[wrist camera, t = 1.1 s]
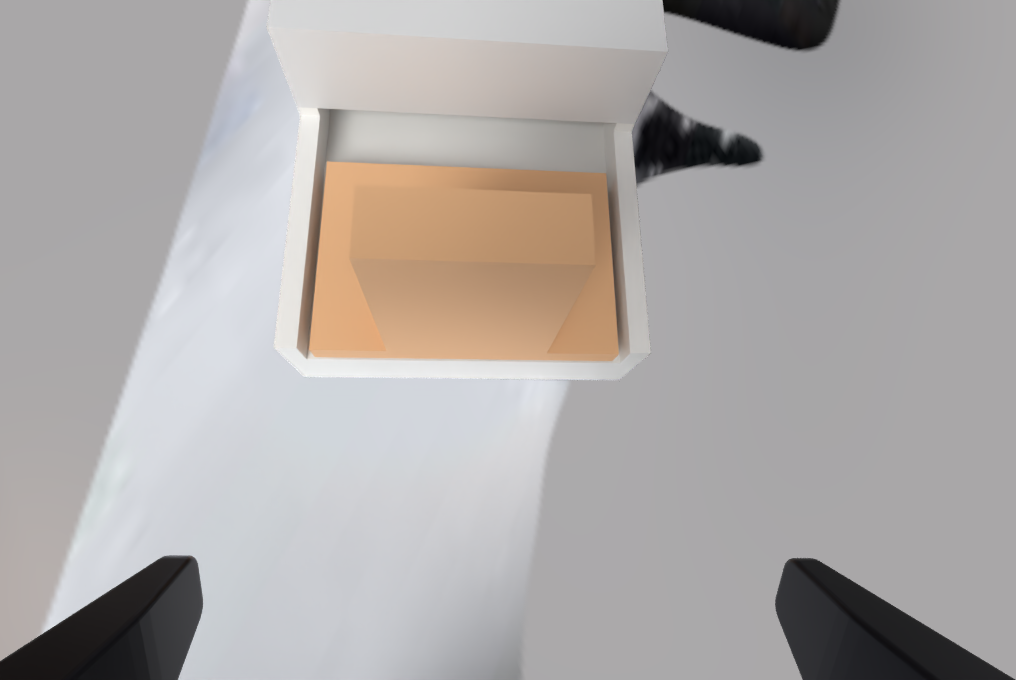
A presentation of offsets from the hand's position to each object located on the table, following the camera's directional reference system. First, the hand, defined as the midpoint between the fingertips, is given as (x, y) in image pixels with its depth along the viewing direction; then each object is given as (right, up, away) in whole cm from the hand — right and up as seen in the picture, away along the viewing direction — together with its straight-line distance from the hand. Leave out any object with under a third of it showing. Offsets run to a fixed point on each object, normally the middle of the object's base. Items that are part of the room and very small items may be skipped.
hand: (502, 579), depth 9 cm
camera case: (-2, +12, +20) cm, 24 cm away
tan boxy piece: (-2, +7, +15) cm, 17 cm away
